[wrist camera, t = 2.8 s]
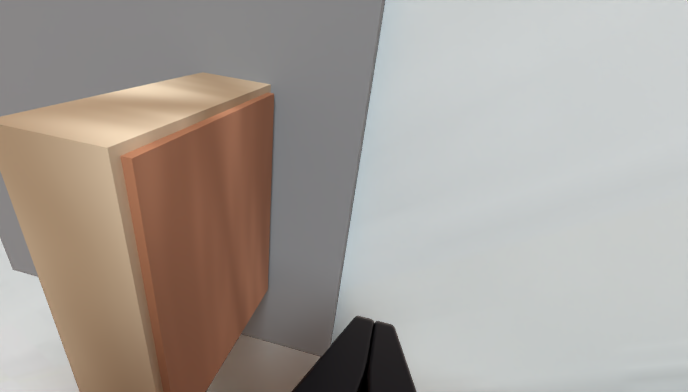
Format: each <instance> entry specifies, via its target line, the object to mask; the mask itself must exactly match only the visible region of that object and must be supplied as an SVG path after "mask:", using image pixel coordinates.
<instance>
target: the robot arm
mask: <svg viewBox="0 0 688 392" xmlns="http://www.w3.org/2000/svg"><path fill="white" fill-rule="evenodd" d="M292 392H416V389H415V386H414V383H413V380H412V377H411V374H410V371H409V368H408V365H407V362H406V359H405V356H404V354H403V351H402V348H401V345H400V342H399V339H398V336H397V333H396V330H395V328H394V326H393V325H391V324H388V323H384V322H380V321H376V322H375V323H374V321H373V320H372V319H369V318H365V317H361V316H356V317H355V318H354V319H353V320H352V321H351V322H350V323H349V325H348V326H347V327H346V328H345V329H344V331H343V332H342V333H341V334H340V335H339V336H338V338H337V339H336V340H335V341H334V342H333V343H332V345H331V346H330V347H329V348H328V349H327V351H326V352H325V353H324V354H323V355H322V356H321V358H320V359H319V360H318V361H317V362H316V363H315V365H314V366H313V367H312V368H311V369H310V371H309V372H308V373H307V374H306V375H305V376H304V378H303V379H302V380H301V381H300V382H299V383H298V385H297V386H296V387H295V388H294V389H293V391H292Z"/></svg>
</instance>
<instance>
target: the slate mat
mask: <svg viewBox="0 0 688 392" xmlns="http://www.w3.org/2000/svg"><path fill="white" fill-rule="evenodd" d="M384 5H385V0H0V117H1V116H6V115H10V114H15V113H19V112H24V111H28V110H33V109H37V108H42V107H47V106H51V105H56V104H60V103H65V102H69V101H74V100H79V99H83V98H88V97H92V96H97V95H101V94H106V93H111V92H115V91H120V90H124V89H129V88H133V87H138V86H142V85H147V84H152V83H156V82H161V81H165V80H170V79H174V78H179V77H184V76H188V75H193V74H197V73H202V72H204V73H209V74H215V75H220V76H226V77H232V78H237V79H243V80H249V81H254V82H260V83H266V84H271V93H274V117H273V147H272V177H271V207H270V238H269V268H268V290H267V292H266V293H265V295H264V297H263V298H262V300H261V302H260V303H259V305H258V307H257V308H256V310H255V311H254V313H253V315H252V316H251V318H250V320H249V321H248V323H247V325H246V326H245V328H244V330H243V331H242V333H241V334H243V335H247V336H250V337H254V338H257V339H261V340H264V341H268V342H271V343H275V344H279V345H282V346H286V347H289V348H293V349H296V350H300V351H303V352H307V353H310V354H314V355H317V356H322V355H323V354H324V353H325V352H326V351H327V349H328V348H329V347H330V346H331V340H332V334H333V327H334V321H335V315H336V308H337V302H338V296H339V289H340V283H341V277H342V270H343V264H344V258H345V251H346V245H347V239H348V232H349V226H350V220H351V214H352V207H353V201H354V195H355V188H356V182H357V176H358V169H359V163H360V157H361V150H362V144H363V138H364V131H365V125H366V119H367V112H368V106H369V100H370V93H371V87H372V81H373V75H374V68H375V62H376V56H377V49H378V43H379V37H380V30H381V24H382V18H383V11H384ZM0 238H1V241H2V243H3V246H4V248H5V251H6V253H7V256H8V258H9V261H10V263H11V266H12V268H13V270H16V271H20V272H23V273H27V274H30V275H34V276H37V277H38V274H37V271H36V269H35V266H34V263H33V260H32V258H31V255H30V252H29V249H28V246H27V244H26V241H25V238H24V235H23V233H22V230H21V227H20V224H19V222H18V219H17V216H16V213H15V210H14V208H13V205H12V202H11V199H10V197H9V194H8V191H7V188H6V185H5V183H4V180H3V177H2V174H1V172H0Z"/></svg>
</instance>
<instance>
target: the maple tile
mask: <svg viewBox="0 0 688 392" xmlns="http://www.w3.org/2000/svg"><path fill="white" fill-rule="evenodd" d="M273 117H274V93H271V84H266V83H260V82H254V81H249V80H243V79H237V78H232V77H226V76H220V75H215V74H209V73H204V72H202V73H197V74H193V75H188V76H184V77H179V78H174V79H170V80H165V81H161V82H156V83H152V84H147V85H142V86H138V87H133V88H129V89H124V90H120V91H115V92H111V93H106V94H101V95H97V96H92V97H88V98H83V99H79V100H74V101H69V102H65V103H60V104H56V105H51V106H47V107H42V108H37V109H33V110H28V111H24V112H19V113H15V114H10V115H6V116H1V117H0V172H1V174H2V177H3V180H4V183H5V185H6V188H7V191H8V194H9V197H10V199H11V202H12V205H13V208H14V210H15V213H16V216H17V219H18V222H19V224H20V227H21V230H22V233H23V235H24V238H25V241H26V244H27V246H28V249H29V252H30V255H31V258H32V260H33V263H34V266H35V269H36V271H37V274H38V277H39V280H40V283H41V285H42V288H43V291H44V294H45V296H46V299H47V302H48V305H49V308H50V310H51V313H52V316H53V319H54V321H55V324H56V327H57V330H58V333H59V335H60V338H61V341H62V344H63V346H64V349H65V352H66V355H67V358H68V360H69V363H70V366H71V369H72V371H73V374H74V377H75V380H76V383H77V385H78V388H79V391H80V392H206V390H207V389H208V387H209V385H210V384H211V382H212V381H213V379H214V377H215V376H216V374H217V372H218V371H219V369H220V367H221V366H222V364H223V362H224V361H225V359H226V358H227V356H228V354H229V353H230V351H231V349H232V348H233V346H234V344H235V343H236V341H237V339H238V338H239V336H240V334H241V333H242V331H243V330H244V328H245V326H246V325H247V323H248V321H249V320H250V318H251V316H252V315H253V313H254V311H255V310H256V308H257V307H258V305H259V303H260V302H261V300H262V298H263V297H264V295H265V293H266V292H267V290H268V268H269V238H270V207H271V177H272V147H273Z"/></svg>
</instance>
